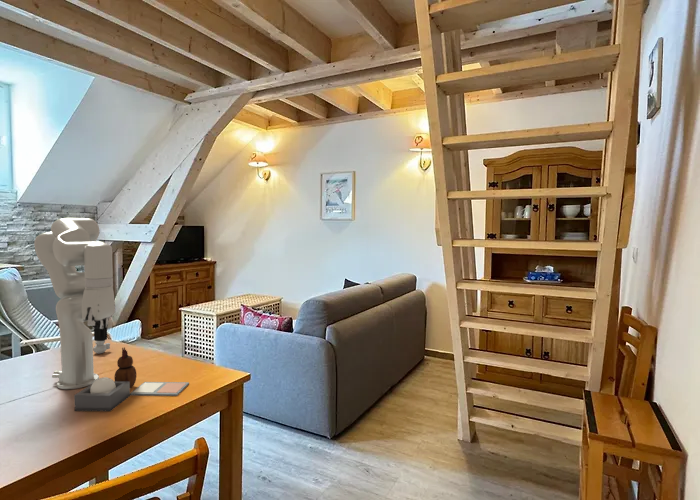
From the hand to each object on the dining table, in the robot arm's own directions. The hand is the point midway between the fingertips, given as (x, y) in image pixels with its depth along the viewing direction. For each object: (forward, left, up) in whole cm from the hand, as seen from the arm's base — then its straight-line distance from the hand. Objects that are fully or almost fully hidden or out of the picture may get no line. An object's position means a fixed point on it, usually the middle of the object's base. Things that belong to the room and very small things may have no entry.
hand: (100, 340), depth 129 cm
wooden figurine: (+1, +12, -21) cm, 24 cm away
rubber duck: (-31, +49, -21) cm, 61 cm away
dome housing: (0, 0, -21) cm, 21 cm away
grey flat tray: (+13, +11, -21) cm, 27 cm away
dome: (0, 0, -19) cm, 19 cm away
